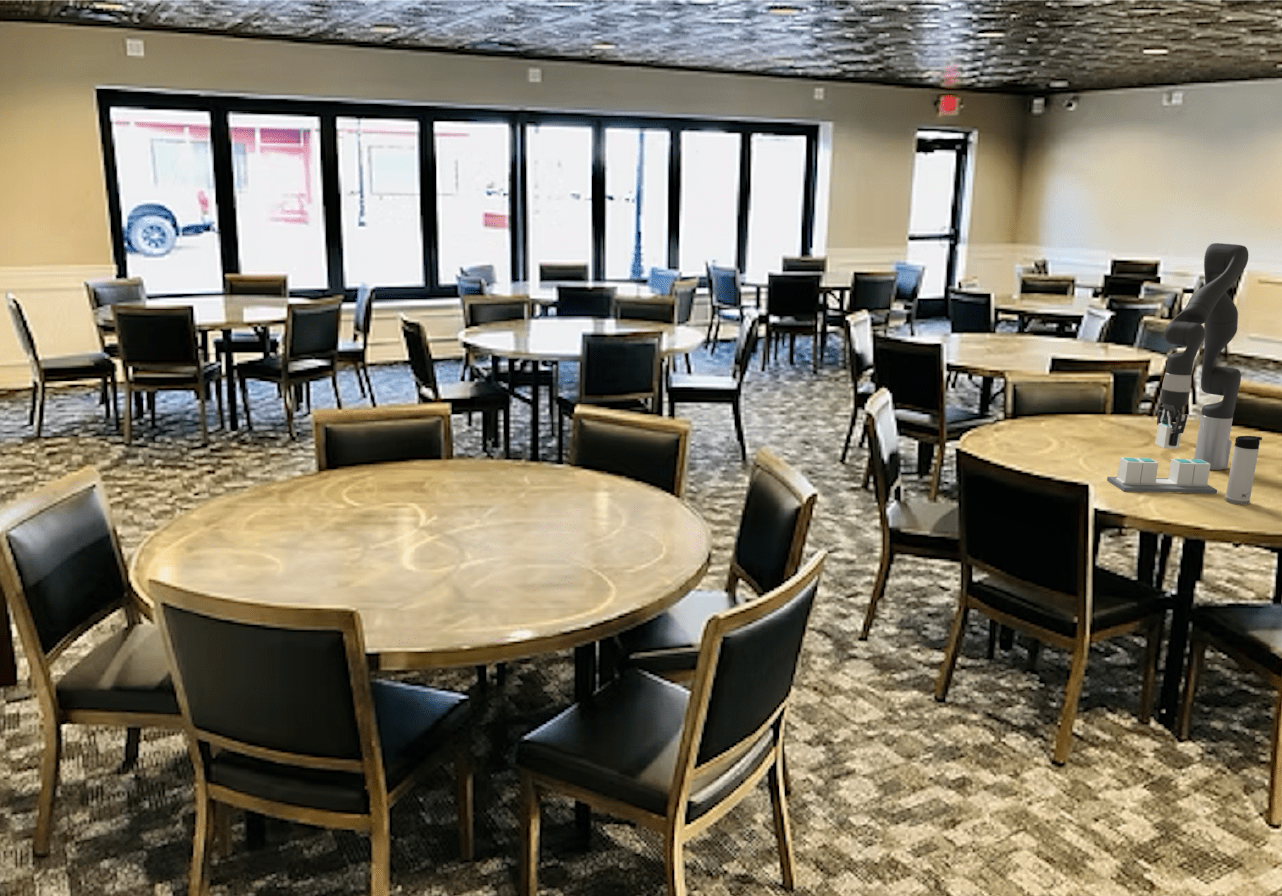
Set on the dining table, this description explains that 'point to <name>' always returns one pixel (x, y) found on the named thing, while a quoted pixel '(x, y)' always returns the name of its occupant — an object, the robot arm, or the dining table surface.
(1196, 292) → the robot arm
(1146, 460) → the rail panel
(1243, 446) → the travel mug
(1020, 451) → the dining table surface
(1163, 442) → the block
